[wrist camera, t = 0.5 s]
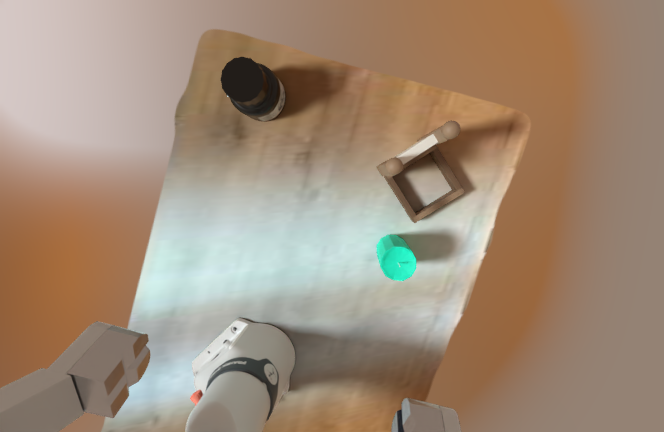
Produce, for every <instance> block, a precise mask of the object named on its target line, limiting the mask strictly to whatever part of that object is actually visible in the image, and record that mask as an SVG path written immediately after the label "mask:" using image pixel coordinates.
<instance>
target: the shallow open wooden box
mask: <svg viewBox="0 0 664 432" xmlns="http://www.w3.org/2000/svg"><path fill="white" fill-rule="evenodd" d="M429 153H430V155H431V156H432V158H433V159H434V161H435V163H436V164H437V166H438V168H439V169H440V171H441V172H442V174H443V176H444V177H445V179H446V181H447V182H448V184H449V185H450V187H451V189H452V190H451V191H450V192H448V193H447V194H445V195H443V196H442V197H440V198H438V199H437V200H435V201H434V202H432V203H430V204H429V205H427V206H425V207H424V208H422V209H421V210H419V211H417V212H416V213H414V211H413V209H412V208H411V206H410V205H409V203H408V201H407V200H406V198H405V197H404V195H403V194H402V192H401V190H400V189H399V187H398V186H397V184H396V182H395V181H394V179H393V178H392V177H393V176H394V175H392V176H384V178H385V179H386V181H387V182H388V184H389V186H390V187H391V189H392V190H393V192H394V193H395V195H396V197H397V198H398V200H399V201H400V203H401V205H402V206H403V208H404V209H405V211H406V213H407V214H408V216H409V217H410V219H411V220H412V221H413V222H414V223H416V222H417V221H419V220H421V219H422V218H424V217H425V216H427V215H429V214H430V213H432V212H434V211H435V210H437V209H439V208H440V207H442V206H443V205H445V204H447V203H448V202H450V201H452V200H453V199H455V198H457V197H458V196H460V195H461V194H463V193H465V192H464V190H463V188H462V187H461V185H460V183H459V182H458V180H457V179H456V177H455V175H454V174H453V172H452V170H451V169H450V167H449V165H448V164H447V162H446V161H445V159H444V157H443V156H442V154H441V152H440V151H439V149H438V148H437V146H436V145H434V146H432V147H430V148H429V149H427V150H425V151H424V152H422V153H421V154H419V155H418V156H416V157H414V158H413V159H411V160H410V161H408V162H407V163H405V164H404V165H403V169H405V168H407V167H408V166H410V165H411V164H413V163H414V162H416V161H418V160H419V159H421V158H422V157H424V156H425V155H427V154H429ZM403 169H402V170H403Z"/></svg>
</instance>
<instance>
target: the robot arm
mask: <svg viewBox="0 0 664 432" xmlns="http://www.w3.org/2000/svg"><path fill="white" fill-rule="evenodd" d="M234 327H236V328H237V329H235V328H234ZM148 341H149V340H148V335H147V334H145V333H141V332H137V331H133V330H129V329H125V328H121V327H117V326H115V325H111V324H106V323H102V322H98V321H97V322H95V323H93V324H92V325H90V326H89V327H88V328H87V329H86V330H85V331H84V332H83V333H82V334H81V335H80V336H79V337H78V338H77V339H76V340H75V341H74V342H73V343H72V344H71V345H70V346H69V347H68V348H67V350H65V351H64V352H63V354H62V355H60V356H59V358H58V359H57V360H56V361H55V362H54V363H53V364H52V365H51V366H50V367H49V368H48V369H43V368H41V369H39V370H37V371H35V372H33V373H31V374H29V375H27V376H25V377H22V378H20V379H18V380H16V381H14V382H12V383H10V384H8V385H6V386H4V387H2V388H0V432H59V431H60V430H62V429H63V428H65V427H66V426H67V425H69V424H70V423H72V422H73V421H75V420H76V419H77V418H79V417H80V416H82V415H83V414H84V412H86V413H91V414H96V415H100V416H105V417H110V418H114V417H115V415H116V414H117V412H118V411H119V409H120V408H121V406H122V405H123V404H124V402H125V401H126V399H127V398H128V396H129V387H130V386H132V385H133V384H135V383H137V382H138V381H139V380H140V379H141V377H142V375H143V374H144V372H145V370H146V368H147V366H148V363H149V360H150V350H149V349H148V348H147V346H146V344H147V342H148ZM294 365H295V351H294V347H293V345H292V343H291V341H290V339H289V338H288V337H287V336H286V334H285V333H283V332H282V331H281V330H279V329H278V328H276V327H274V326H272V325H268V324H263V323H252V322H249V321H247V320H245V319H242V318H238V319H236V320H235V321H234V322H233V323H232V324H231V325H229V326H228V327H227V328H226V329H225V330H224V331H223V332H222V333H221V334H220V335H219V336H218V337H217V338H216V339H215V340H214V341H213V342H212V343H210V344H209V345H208V346H207V347H206V348H205V349H204V350H203V351H202V352H201V353H200V354H199V355H198V356H197V357H196V358H195V359H194V360H193V362H192V370H193V374H194V386H195V389H196V392H195V393H194V394H193V395H192V396H191V398H190V399H191V400H192V401H193V402H194V403H195V408H194V409H193V410H192V412H191V414H190V415H189V418H188V420H187V424H186V429H185V432H263V429H264V426H265V423H266V421H267V420H268V419H269V417H270V415H271V413H272V412H273V410H274V409H275V408H276V407H277V405H278V402H279V400H280V398H281V396H282V395H283V394H286V393H287V392H288V390H289V386H290V375H291V372H292V370H293V368H294ZM391 432H461V428H460V423H459V419H458V414H457V413H456V411H455V410H454V409H452V408H448V407H443V406H439V405H436V404H432V403H428V402H423V401H419V400H414V399H410V398H405V399H404V400H403V402H402V409H401V410H398V411H397V412H396V414H395V416H394V419H393V423H392V431H391Z"/></svg>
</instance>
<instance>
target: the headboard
mask: <svg viewBox="0 0 664 432" xmlns="http://www.w3.org/2000/svg"><path fill="white" fill-rule="evenodd" d="M459 133H460V126H459V124H458V123H457V122H455V121H448V122H446V123H445V124H444V125H443V126H441V127H439V128H437V129H436V130H434V131H432V132H430V133H428V134H427V135H425V136H424V137H422V138H420V139H419V140H417V141H418V142H417V143H415V144H414V145H412V146H411V147H409V148H407V149H406V150H404V151H403V152H401V153H400V154H398V155H397V156H395V157H394V158H391V159H389V160H387V161H385V162H383V163H382V164H380V165H379V166H377V169H378V171H379V172H380V174H381V175H382V176H392V175H397V174H399V173H400V172H401V171H402V169H403V165H404V164H405V163H407V162H408V161H410V160H411V159H413V158H414V157H416V156H418V155H419V154H421V153H422V152H424V151H425V150H427V149H429V148H430V147H432V146H434V145H437V144H440V143H442V142H445V141H447V140H449V139H453V138H455V137H457V136H458V135H459Z"/></svg>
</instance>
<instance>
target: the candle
mask: <svg viewBox="0 0 664 432" xmlns="http://www.w3.org/2000/svg"><path fill="white" fill-rule="evenodd" d="M377 256H378V259H379V263H380V266H381V269H382V271H383V272H384V274H385V276H387V277H388V278H390V279H392V280H399V281H404V280H406V279H407V278H409V277H411V276H412V274H413V273H414V271H415V270H416V258H415V256H414V254H413V252H412V251H411V249H410V248H409V247H408V245H407V244H406V243H405V241H404V240H403V239H402V238H400V237H399V236H397V235H387V236H385V237H383V238H381V239H380V241H379V243H378V244H377Z"/></svg>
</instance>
